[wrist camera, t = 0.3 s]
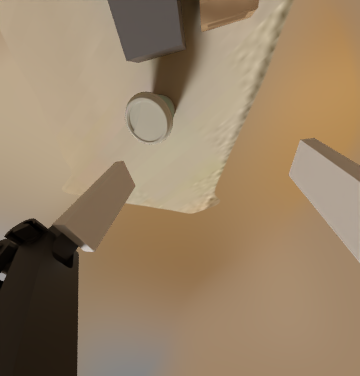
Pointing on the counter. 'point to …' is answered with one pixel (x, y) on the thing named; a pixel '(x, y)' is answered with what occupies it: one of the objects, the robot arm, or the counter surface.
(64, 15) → the counter surface
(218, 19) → the brown long open box
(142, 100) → the coffee cup
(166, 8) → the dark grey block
